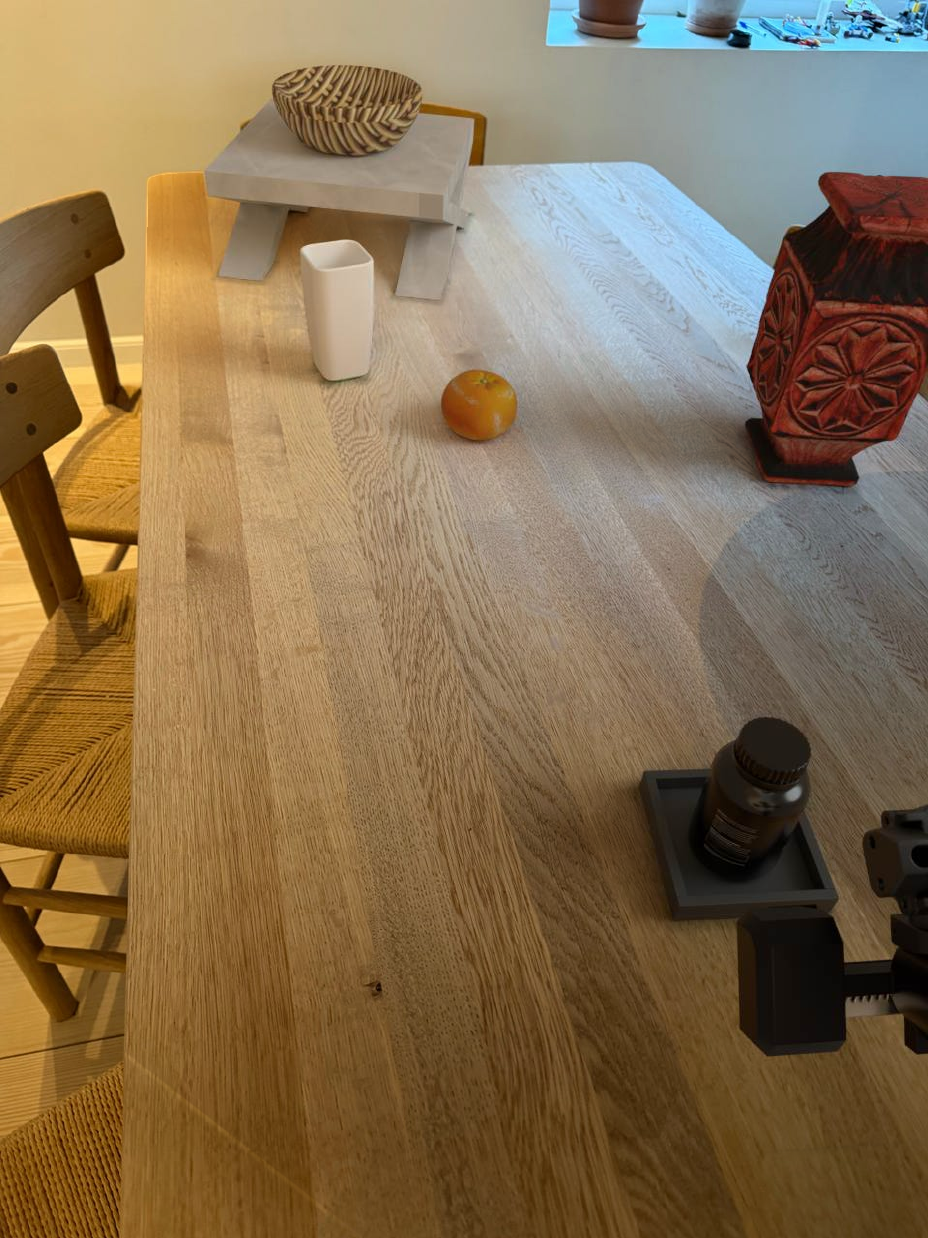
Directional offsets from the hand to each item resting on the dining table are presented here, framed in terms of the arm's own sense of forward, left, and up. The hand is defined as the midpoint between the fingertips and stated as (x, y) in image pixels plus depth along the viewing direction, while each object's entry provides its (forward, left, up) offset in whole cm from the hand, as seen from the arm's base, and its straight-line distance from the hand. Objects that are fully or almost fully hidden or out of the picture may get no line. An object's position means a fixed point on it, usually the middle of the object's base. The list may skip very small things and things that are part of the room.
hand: (849, 917), depth 53 cm
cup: (+71, +53, -14) cm, 89 cm away
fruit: (+63, +34, -14) cm, 72 cm away
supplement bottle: (+12, +4, -13) cm, 19 cm away
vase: (+68, -3, -14) cm, 69 cm away
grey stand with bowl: (+108, +63, -14) cm, 125 cm away
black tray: (+13, +4, -14) cm, 19 cm away
